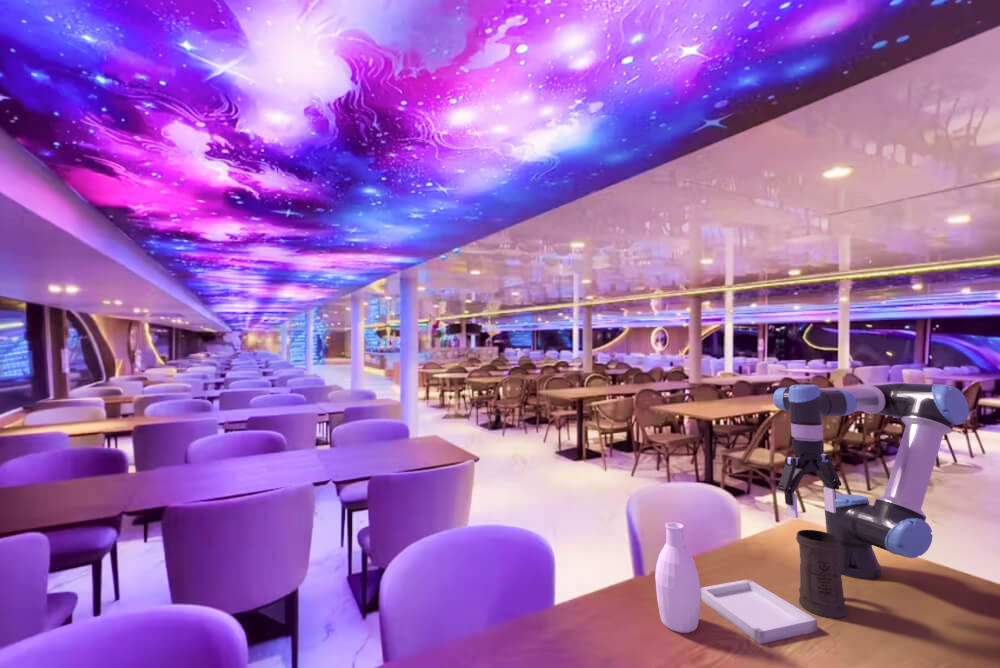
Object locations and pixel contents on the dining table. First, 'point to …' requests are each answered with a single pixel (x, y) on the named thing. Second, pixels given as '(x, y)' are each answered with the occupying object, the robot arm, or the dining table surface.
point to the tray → (757, 611)
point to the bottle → (677, 583)
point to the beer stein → (820, 574)
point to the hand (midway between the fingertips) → (811, 514)
